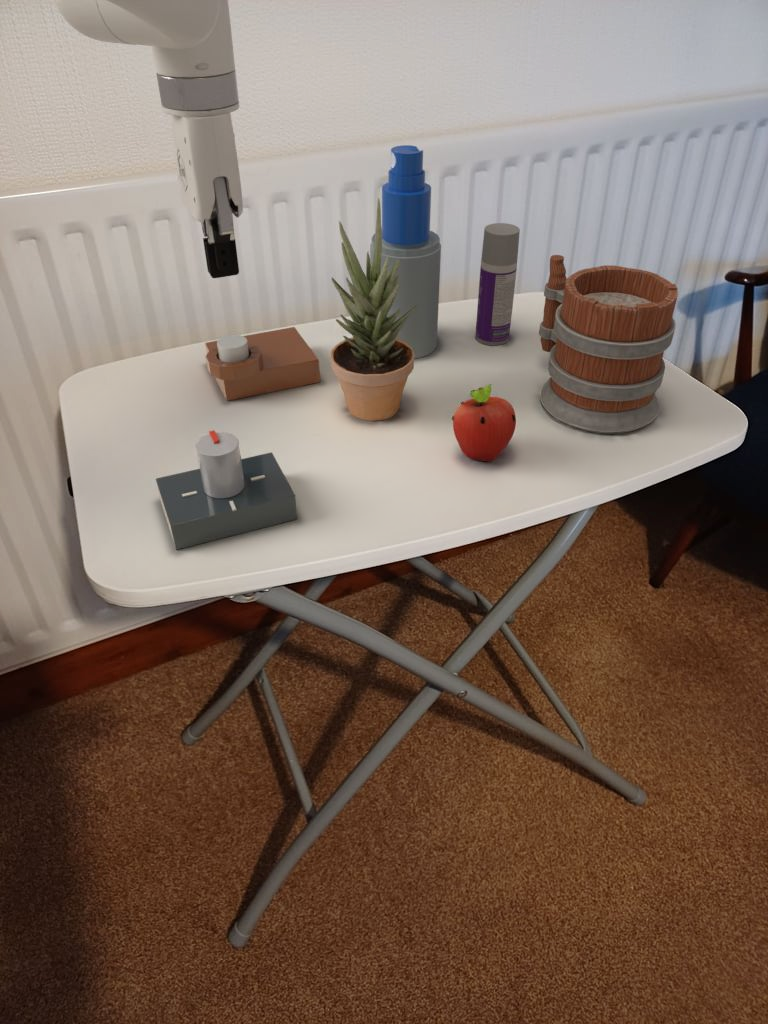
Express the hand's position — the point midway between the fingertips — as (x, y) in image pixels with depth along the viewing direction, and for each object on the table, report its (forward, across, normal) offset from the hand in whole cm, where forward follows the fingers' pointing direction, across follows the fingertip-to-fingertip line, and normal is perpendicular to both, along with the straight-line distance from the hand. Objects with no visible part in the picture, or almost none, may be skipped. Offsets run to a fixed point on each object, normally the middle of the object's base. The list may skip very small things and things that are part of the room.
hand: (223, 273), depth 88 cm
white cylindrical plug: (+10, 0, 0) cm, 10 cm away
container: (+15, 0, +36) cm, 39 cm away
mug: (+15, +18, +39) cm, 45 cm away
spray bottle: (+15, -3, +24) cm, 29 cm away
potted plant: (+15, +11, +14) cm, 23 cm away
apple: (+15, +25, +21) cm, 36 cm away
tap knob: (+12, +23, -7) cm, 27 cm away
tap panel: (+15, +23, -7) cm, 28 cm away
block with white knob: (+15, -3, +4) cm, 16 cm away
